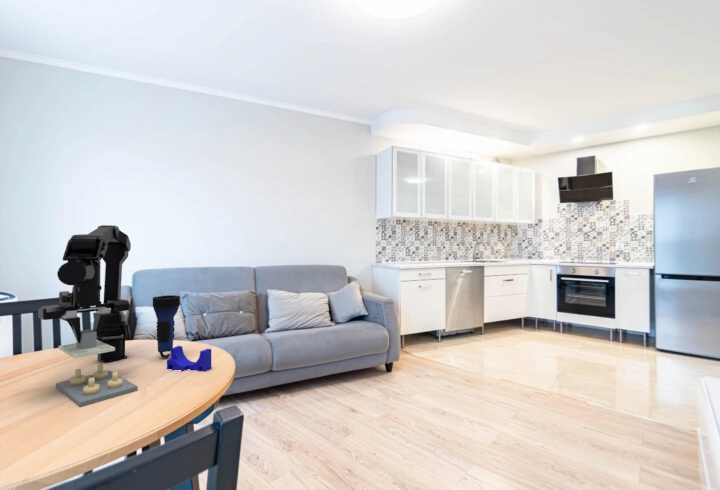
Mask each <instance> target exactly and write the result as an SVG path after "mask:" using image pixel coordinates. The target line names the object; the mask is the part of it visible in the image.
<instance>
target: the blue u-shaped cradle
mask: <svg viewBox="0 0 720 490" xmlns="http://www.w3.org/2000/svg"><path fill="white" fill-rule="evenodd" d="M167 369H172V370H171V371H174V370H181V371H180V372H183V371H184V370H186V371H188V370H187V369H190V370H189V371H193V370H197V371H196V372H201V371H203V372H202V373H205V372H207V371H209V370H211V369H212V349H211V348H205V349H203V350H200V351H199V356H198V359H197V360H196V361H195V362H194V361H191V360H189V358H187V357H186V355H185V353H184V351H183V346H181V345H177V346H173V348H171V351H170V358H168V359H166V370H167ZM184 372H185V371H184Z"/></svg>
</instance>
